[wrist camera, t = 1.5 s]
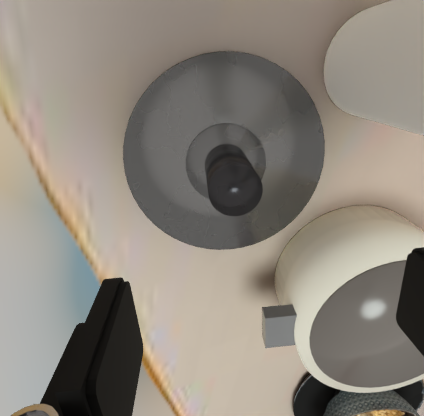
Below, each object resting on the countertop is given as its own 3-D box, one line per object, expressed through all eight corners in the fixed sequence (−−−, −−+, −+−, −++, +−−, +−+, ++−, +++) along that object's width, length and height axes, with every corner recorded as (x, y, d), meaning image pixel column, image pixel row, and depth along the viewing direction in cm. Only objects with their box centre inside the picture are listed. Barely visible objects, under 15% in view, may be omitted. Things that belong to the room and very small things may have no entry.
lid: (107, 61, 22) (70, 58, 15) (325, 43, 22) (382, 32, 15) (143, 250, 28) (129, 306, 21) (313, 233, 28) (350, 284, 22)
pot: (249, 215, 27) (268, 264, 20) (460, 195, 27) (547, 236, 20) (252, 337, 32) (268, 406, 26) (427, 319, 33) (487, 382, 26)
